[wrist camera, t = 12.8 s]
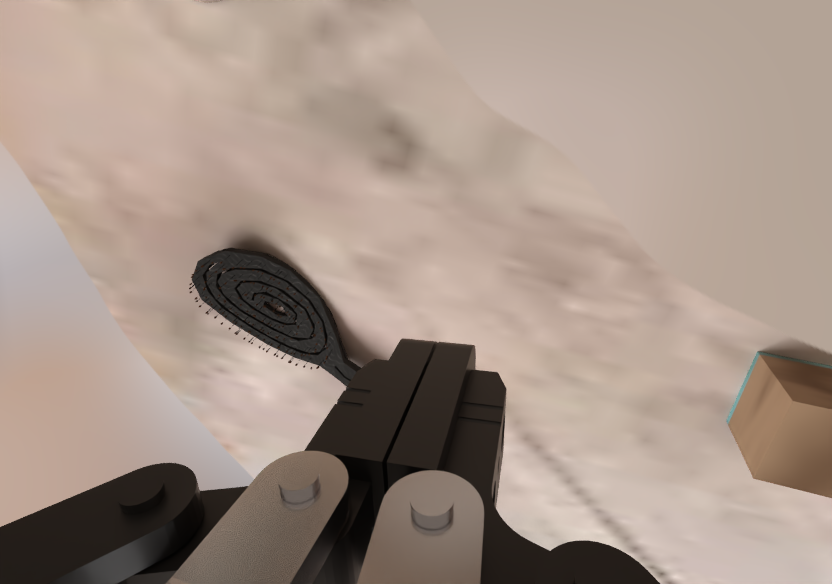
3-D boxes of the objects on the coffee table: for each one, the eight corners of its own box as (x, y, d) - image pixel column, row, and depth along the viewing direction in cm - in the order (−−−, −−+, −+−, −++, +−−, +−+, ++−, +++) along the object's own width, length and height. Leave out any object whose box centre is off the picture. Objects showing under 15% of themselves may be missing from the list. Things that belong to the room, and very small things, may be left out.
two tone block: (863, 506, 29) (818, 441, 35) (915, 427, 27) (857, 371, 32) (753, 478, 31) (726, 420, 36) (792, 400, 28) (757, 350, 33)
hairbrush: (406, 471, 43) (171, 306, 42) (416, 443, 46) (198, 289, 45) (461, 417, 39) (204, 233, 38) (467, 390, 43) (231, 220, 41)
